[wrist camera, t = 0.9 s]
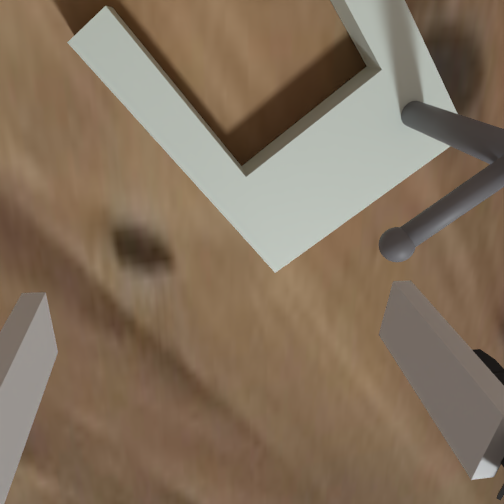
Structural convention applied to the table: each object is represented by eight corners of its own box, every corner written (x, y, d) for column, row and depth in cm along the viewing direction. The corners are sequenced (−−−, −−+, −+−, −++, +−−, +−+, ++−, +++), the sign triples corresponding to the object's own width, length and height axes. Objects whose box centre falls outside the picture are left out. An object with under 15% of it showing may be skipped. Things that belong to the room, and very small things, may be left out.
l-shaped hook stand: (77, 40, 30) (-23, 57, 16) (300, -174, 27) (447, -420, 12) (269, 256, 41) (317, 386, 27) (447, 126, 38) (618, 193, 23)
